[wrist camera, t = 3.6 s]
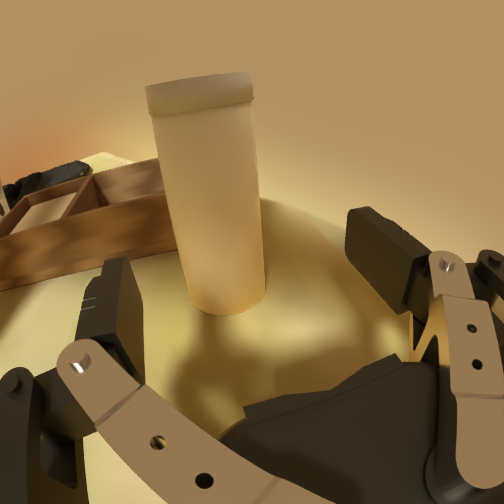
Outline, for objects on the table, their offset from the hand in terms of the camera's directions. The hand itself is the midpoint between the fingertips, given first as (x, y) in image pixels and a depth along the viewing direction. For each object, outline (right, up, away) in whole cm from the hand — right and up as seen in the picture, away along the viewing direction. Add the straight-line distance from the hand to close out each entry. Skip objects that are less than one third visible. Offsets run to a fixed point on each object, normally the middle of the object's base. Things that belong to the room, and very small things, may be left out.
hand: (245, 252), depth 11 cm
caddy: (-16, +2, +19) cm, 25 cm away
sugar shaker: (-1, -2, +10) cm, 11 cm away
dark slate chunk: (-41, +12, +39) cm, 58 cm away
